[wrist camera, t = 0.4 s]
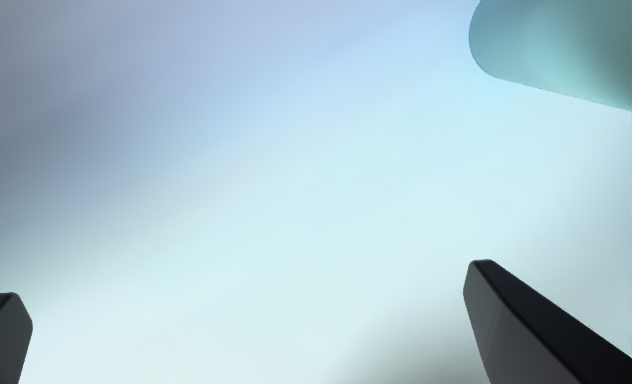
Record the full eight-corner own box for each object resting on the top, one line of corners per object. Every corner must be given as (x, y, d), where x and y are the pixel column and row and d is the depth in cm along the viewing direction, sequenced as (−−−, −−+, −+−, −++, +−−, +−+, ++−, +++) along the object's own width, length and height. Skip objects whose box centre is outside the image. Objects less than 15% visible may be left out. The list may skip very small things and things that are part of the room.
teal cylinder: (566, 72, 22) (915, 131, 10) (468, 93, 22) (702, 177, 10) (565, -37, 21) (981, -121, 9) (460, -15, 21) (727, -67, 8)
